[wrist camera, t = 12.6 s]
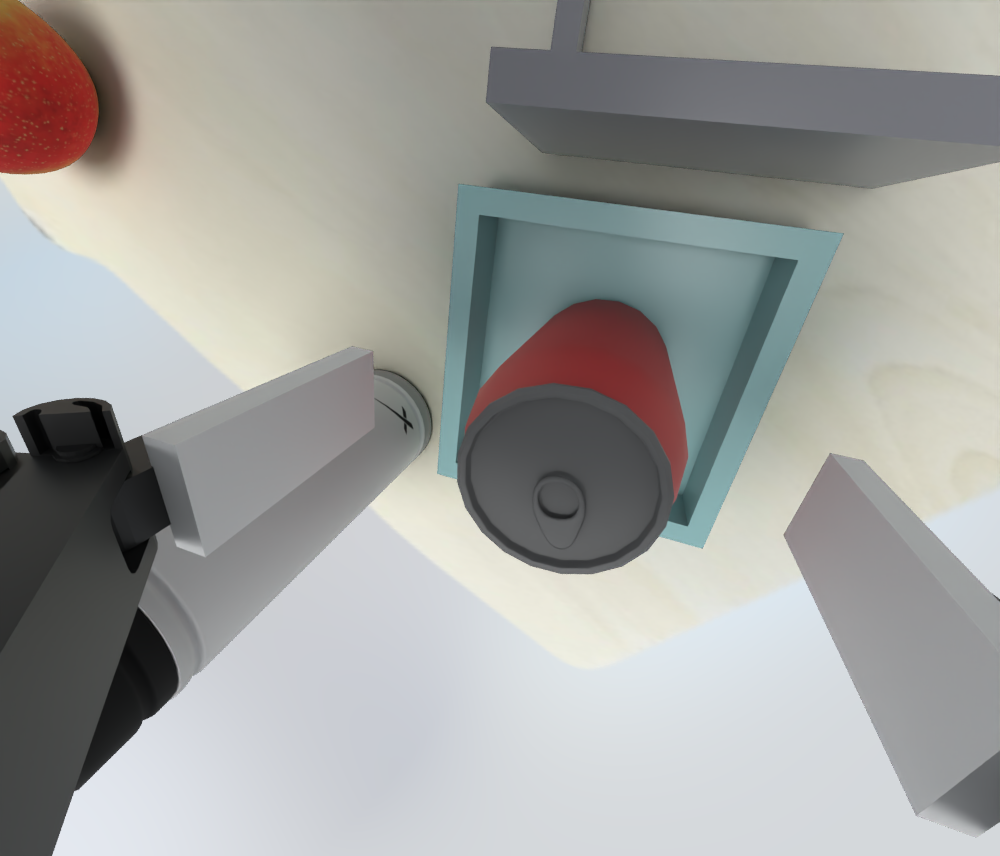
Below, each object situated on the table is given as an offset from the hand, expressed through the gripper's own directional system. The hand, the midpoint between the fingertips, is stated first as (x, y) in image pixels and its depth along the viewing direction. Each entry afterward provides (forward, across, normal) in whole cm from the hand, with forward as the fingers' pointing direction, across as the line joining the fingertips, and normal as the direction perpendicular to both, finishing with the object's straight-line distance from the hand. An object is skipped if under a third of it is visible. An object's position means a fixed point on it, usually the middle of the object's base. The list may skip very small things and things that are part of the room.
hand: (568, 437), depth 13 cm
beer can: (+10, 0, -1) cm, 10 cm away
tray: (+10, 0, -1) cm, 10 cm away
